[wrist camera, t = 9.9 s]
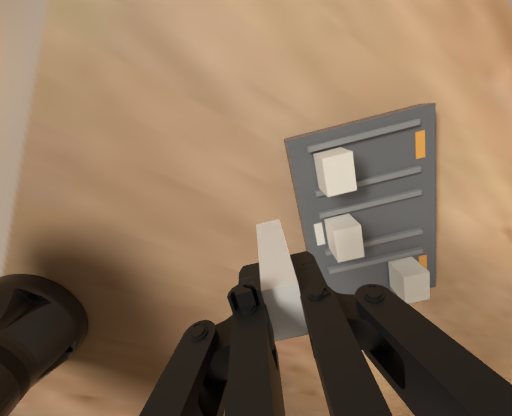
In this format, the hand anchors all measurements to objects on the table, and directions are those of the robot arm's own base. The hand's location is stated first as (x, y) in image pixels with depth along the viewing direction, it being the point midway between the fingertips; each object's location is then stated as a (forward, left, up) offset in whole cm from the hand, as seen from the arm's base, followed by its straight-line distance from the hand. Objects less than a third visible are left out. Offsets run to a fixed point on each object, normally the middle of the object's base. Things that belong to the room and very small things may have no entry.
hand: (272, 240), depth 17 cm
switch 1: (+8, 0, -13) cm, 15 cm away
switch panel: (+12, -8, -16) cm, 21 cm away
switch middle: (+8, -8, -13) cm, 17 cm away
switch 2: (+15, -16, -13) cm, 26 cm away
